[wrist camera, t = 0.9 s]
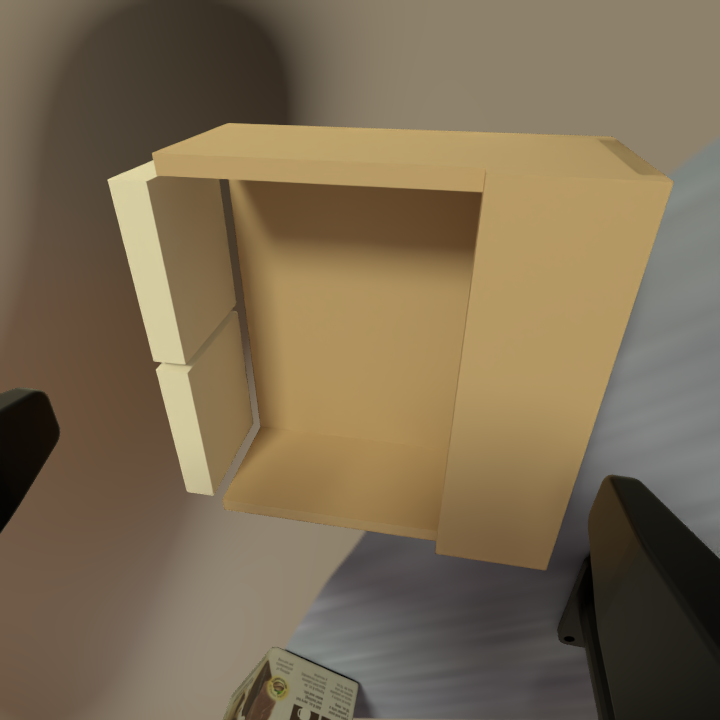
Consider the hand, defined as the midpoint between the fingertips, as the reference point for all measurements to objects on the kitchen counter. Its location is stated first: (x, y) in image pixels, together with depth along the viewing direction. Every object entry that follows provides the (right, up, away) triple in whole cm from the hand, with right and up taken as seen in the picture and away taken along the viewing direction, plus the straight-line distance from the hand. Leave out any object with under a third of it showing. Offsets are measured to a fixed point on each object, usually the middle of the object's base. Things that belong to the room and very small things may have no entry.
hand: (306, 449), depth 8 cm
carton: (+2, +3, +10) cm, 10 cm away
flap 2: (-4, +1, +12) cm, 12 cm away
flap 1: (-4, +6, +9) cm, 11 cm away
